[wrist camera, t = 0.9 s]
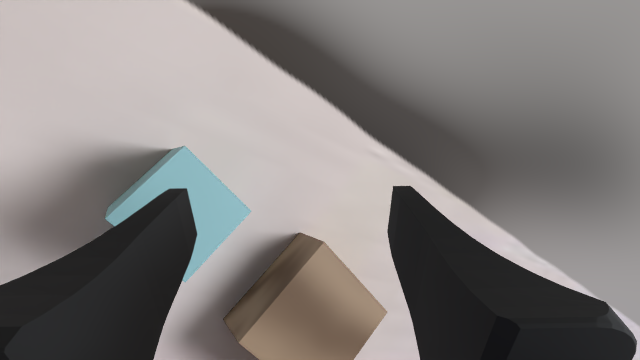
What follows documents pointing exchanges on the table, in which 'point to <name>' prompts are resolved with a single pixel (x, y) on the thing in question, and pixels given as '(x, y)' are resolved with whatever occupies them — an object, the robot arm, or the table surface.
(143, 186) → the teal cube
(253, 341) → the walnut block
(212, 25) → the table surface
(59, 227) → the table surface
